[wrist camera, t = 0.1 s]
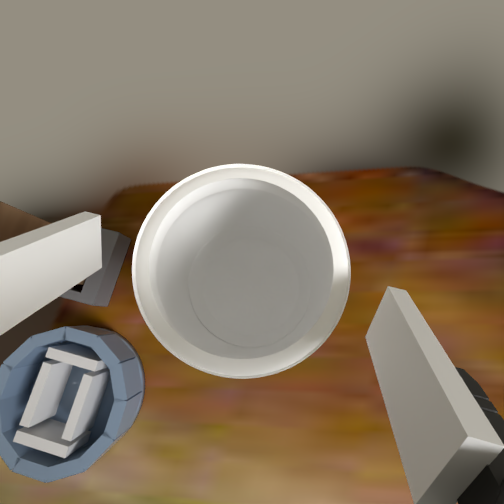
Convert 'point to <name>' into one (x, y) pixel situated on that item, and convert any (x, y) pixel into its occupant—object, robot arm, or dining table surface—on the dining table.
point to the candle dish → (67, 400)
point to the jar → (241, 271)
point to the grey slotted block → (103, 271)
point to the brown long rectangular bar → (18, 223)
